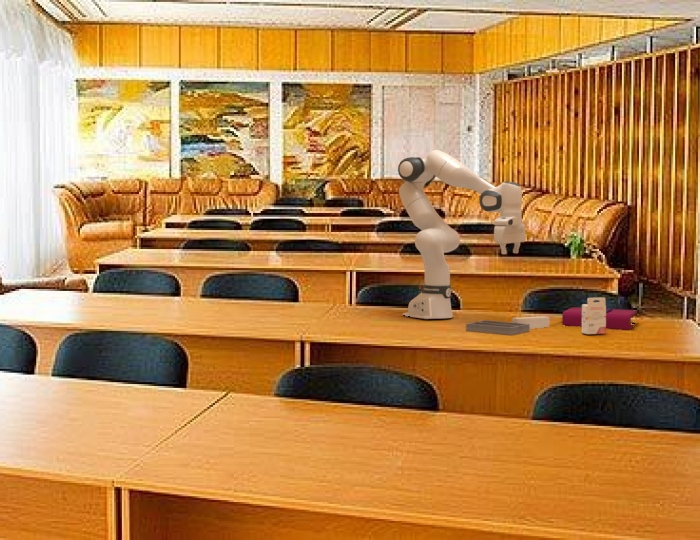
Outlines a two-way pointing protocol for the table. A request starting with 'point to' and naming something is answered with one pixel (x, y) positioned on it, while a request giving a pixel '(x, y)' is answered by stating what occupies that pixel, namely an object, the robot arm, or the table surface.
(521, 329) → the divided tray
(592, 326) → the ink cartridge box
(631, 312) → the book
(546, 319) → the clay strip
